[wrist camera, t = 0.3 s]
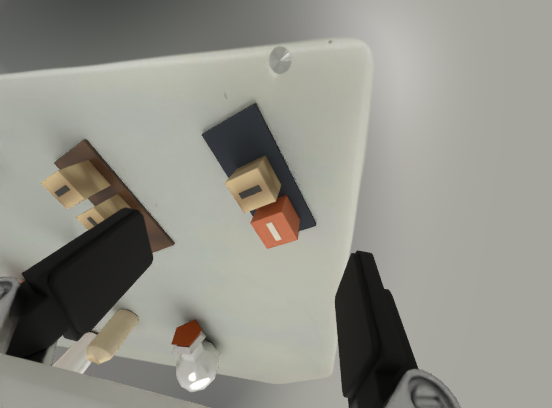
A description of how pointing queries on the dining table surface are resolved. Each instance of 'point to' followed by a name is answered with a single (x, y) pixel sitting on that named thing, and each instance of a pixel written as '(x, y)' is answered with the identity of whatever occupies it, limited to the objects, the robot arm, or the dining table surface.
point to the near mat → (255, 154)
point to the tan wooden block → (75, 183)
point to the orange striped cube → (276, 222)
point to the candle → (111, 336)
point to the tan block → (254, 184)
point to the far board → (115, 191)
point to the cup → (76, 355)
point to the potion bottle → (194, 357)
